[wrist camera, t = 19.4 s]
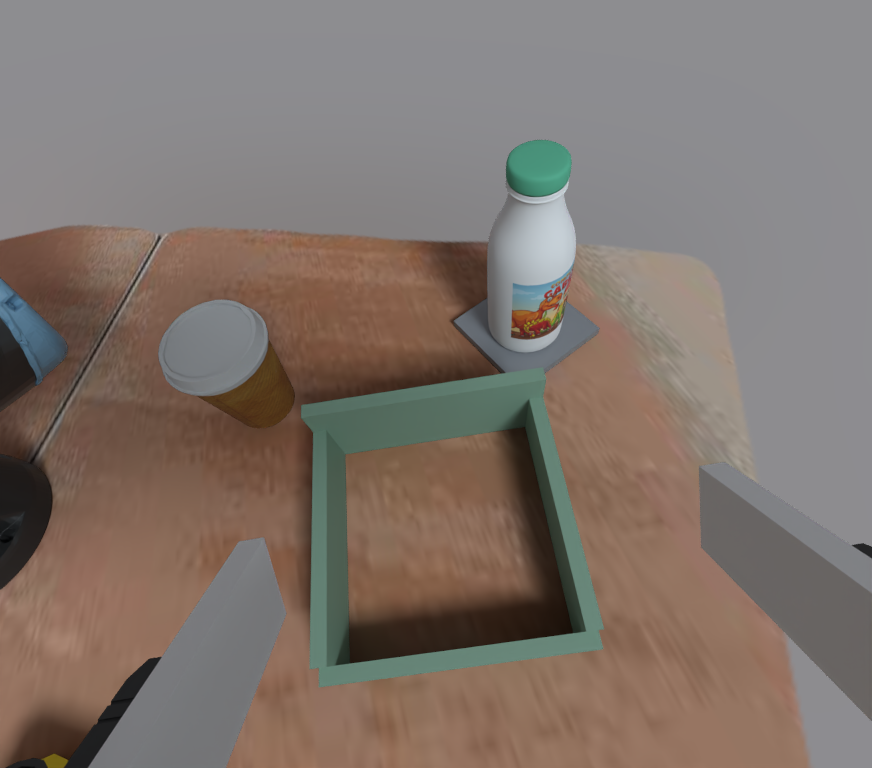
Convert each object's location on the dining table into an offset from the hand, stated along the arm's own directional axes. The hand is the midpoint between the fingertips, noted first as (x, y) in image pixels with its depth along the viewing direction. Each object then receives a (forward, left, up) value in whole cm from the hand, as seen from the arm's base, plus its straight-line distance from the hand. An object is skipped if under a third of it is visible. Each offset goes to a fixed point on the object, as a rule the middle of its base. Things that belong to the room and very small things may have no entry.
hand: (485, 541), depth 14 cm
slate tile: (-19, +21, -28) cm, 40 cm away
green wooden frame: (-7, +1, -28) cm, 29 cm away
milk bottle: (-19, +21, -27) cm, 39 cm away
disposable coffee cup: (-30, -6, -28) cm, 42 cm away
